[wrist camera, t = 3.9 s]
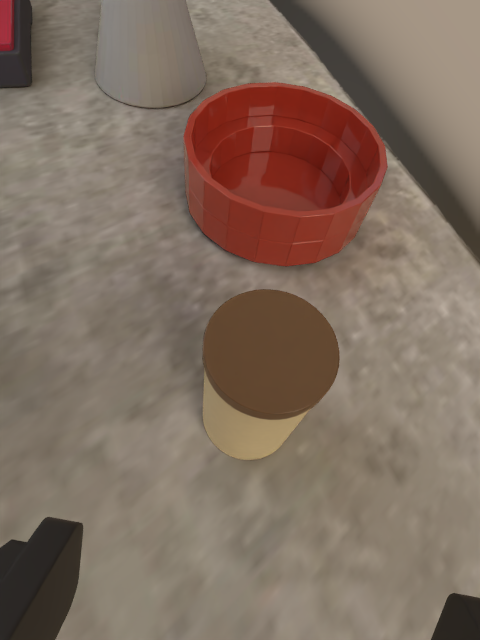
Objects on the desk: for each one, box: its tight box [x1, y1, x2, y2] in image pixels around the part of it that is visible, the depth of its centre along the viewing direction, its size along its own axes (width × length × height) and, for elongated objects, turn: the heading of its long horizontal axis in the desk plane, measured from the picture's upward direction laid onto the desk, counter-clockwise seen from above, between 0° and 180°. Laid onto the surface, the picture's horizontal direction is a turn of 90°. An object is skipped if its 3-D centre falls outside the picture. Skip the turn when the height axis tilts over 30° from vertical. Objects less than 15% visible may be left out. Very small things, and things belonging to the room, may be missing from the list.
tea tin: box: [203, 289, 339, 460], centre depth 20 cm, size 5×5×9 cm
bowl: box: [184, 82, 388, 266], centre depth 30 cm, size 14×14×6 cm
